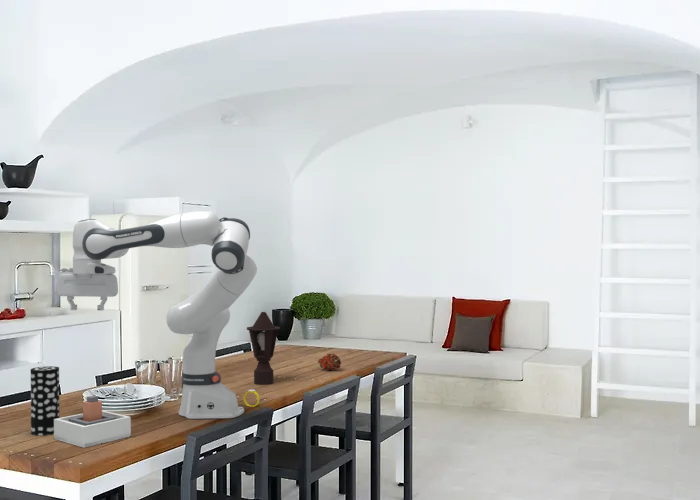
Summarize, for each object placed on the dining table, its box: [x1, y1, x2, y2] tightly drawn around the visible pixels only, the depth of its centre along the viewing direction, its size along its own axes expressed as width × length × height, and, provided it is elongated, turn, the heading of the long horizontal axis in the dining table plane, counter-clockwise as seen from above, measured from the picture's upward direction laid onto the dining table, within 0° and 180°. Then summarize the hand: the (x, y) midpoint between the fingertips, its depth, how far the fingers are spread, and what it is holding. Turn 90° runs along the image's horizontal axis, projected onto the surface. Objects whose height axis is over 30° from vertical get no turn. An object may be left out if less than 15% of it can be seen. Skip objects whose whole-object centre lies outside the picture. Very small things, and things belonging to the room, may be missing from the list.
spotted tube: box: [30, 365, 60, 436], centre depth 237 cm, size 8×8×20 cm
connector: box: [82, 395, 103, 422], centre depth 231 cm, size 4×4×12 cm
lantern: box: [246, 311, 281, 386], centre depth 319 cm, size 15×15×30 cm
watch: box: [242, 389, 261, 408], centre depth 274 cm, size 6×3×6 cm, turn 70°
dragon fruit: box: [317, 352, 342, 372], centre depth 351 cm, size 8×8×12 cm
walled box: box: [53, 409, 132, 449], centre depth 231 cm, size 16×16×6 cm
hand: (87, 310), depth 250 cm, fingers open, 8 cm apart
